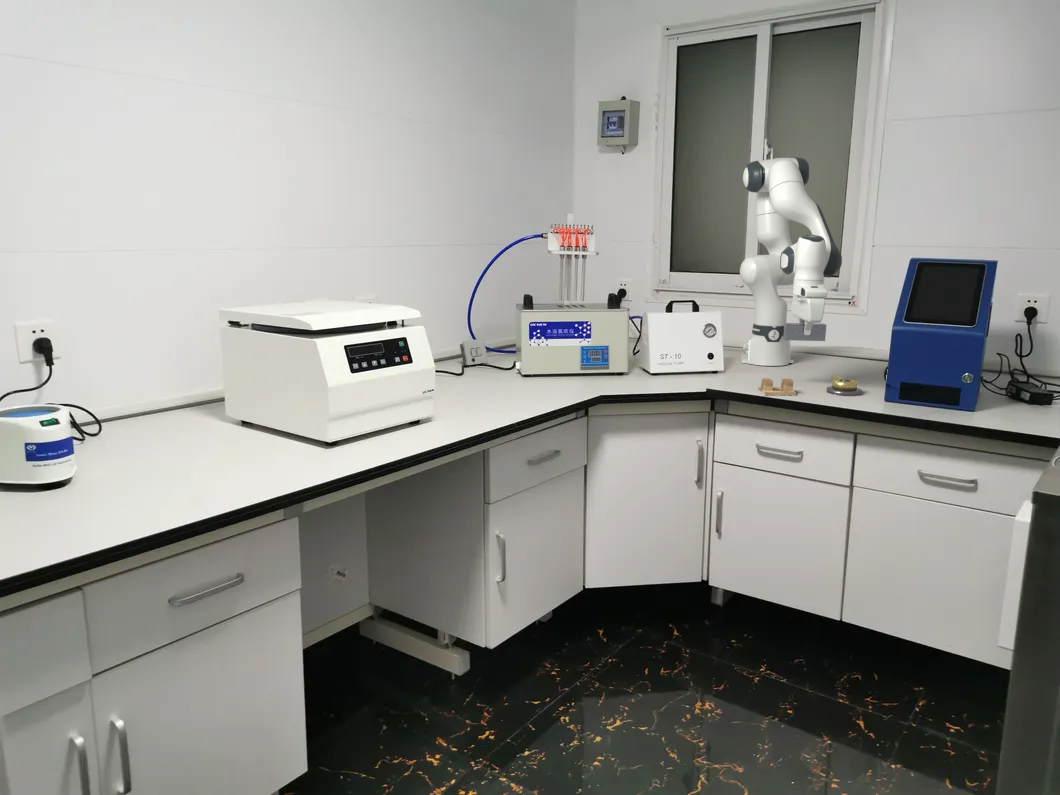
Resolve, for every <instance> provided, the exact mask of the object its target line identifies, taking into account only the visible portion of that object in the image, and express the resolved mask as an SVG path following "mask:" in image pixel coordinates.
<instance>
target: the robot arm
mask: <svg viewBox="0 0 1060 795" xmlns="http://www.w3.org/2000/svg"><path fill="white" fill-rule="evenodd" d="M810 172H811V170H810V164H809V162H808V161H807V160H806V159H805V158H803V157H798V156H796V157H794V158H793V157H776V158H771V159H770V158H768V159H764V160H754V161H751V162H748V163H747V164H746V165H745V167H744V171H743V174H742V182H743V184H744V188H745V189H746V191H748V192H750V193H756V198H755V207H754V208H755V209H754V210H755V211H754V212H755V213H754V214H755V238H756V239H757V241H758V242H759V243H760V244H761V245H763V246H764V247H765V248H766V251H767V253H768V254H757V255H753V256H749V257H746V258H745V259H744V260H743V261H742V263H741V264H740V267H739V275H740V276H739V277H740V278H741V281H742V282H743V283H744V284H745V285H746V286H747V287H748V288H749V289H750V292H751V294H752V296H753V300H754V301H753V302H754V323H753V324H752V328H751V333H752V334H751V336H750V338H749V339H748V341H747V342H746V343H743V344H742V350H743V351H745V353H741V354H740V362H741V363H742V364H747V365H749V364H750V365H754V366H755V365H756V366H763V367H764V366H768V367H781V366H787V365H789V363H792V364H794V363H795V361H794V359H791V340H784V339H783V335H784V323H787V318H788V317H787V315H788V303H787V301H786V300H785V299H784V298H782V297H780V295H779V294H778V289H777V286H779V287H780V286H791V285H793V287H792V300H791V301H792V302H791V309H790V313H791V316H793V317H796V318H797V323H805V328H804V330H803V334H804V335H810V333H811V328H812V325H813V323H815V324H821V322H822V321H823V318H824V312H825V303H826V301H825V300H826V299H825V298H827V297H828V290H827V288H826V286H825V284H824V283H825V278H831V277H833V276H834V275H835V274H837V272H839V270H840V269H841V267H842V263H843V258H842V252H841V251H840V249H839V248H838V246H837V244H836V242H835V241H834V238H833V235H832V233H831V231H830V228H829V226H828V222H827V220H826V217H825V215H824V213H823V211H822V209H821V207H820V205H819V204H818V203H816V202H815V201H814V200H812V199H811V197H810V196H809V194H808V193H807V191H806V188H805V187H806V185H807V184H808V181H809V178H810ZM789 220H790V221H793V222H796V223H798V224H801V225H803V226H805V227H807V228H808V229H809V231H810V232H811V234H803V235H800V237H798V240H797V242H796V243H794V244H793V242H792V240H791V239H792V238H791V236H790V229H789V228H790V226H789Z"/></svg>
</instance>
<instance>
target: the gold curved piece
mask: <svg viewBox="0 0 1060 795" xmlns="http://www.w3.org/2000/svg"><path fill="white" fill-rule="evenodd" d="M831 382H832V385H831V386H832V388H833V389H836V390H841V391H855V390H857V388H858V380H856V379H852V378H843V377H841V376H840V375H838V374H832V375H831Z"/></svg>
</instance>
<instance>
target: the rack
mask: <svg viewBox="0 0 1060 795" xmlns="http://www.w3.org/2000/svg"><path fill="white" fill-rule="evenodd" d="M760 384H761V385H760V386H758V387H757V390H758V389H759V390H760V391H761V392H763V393H764V394H765V395H764V394H763V393H762V394H763V395H764V396H784V395H795V396H796V394H797V393H796V391H795V390H794V380H792V378H785V377H784V378H783V377H782V378H781V382H780V386H774V380H773V379H771V378H770V377H767V378H766V377H763V378H762V377H761V383H760ZM759 390H758V391H759ZM760 391H759V392H760ZM761 392H760V393H761Z"/></svg>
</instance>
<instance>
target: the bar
mask: <svg viewBox="0 0 1060 795" xmlns="http://www.w3.org/2000/svg"><path fill="white" fill-rule="evenodd" d="M804 328H805V323H798V322H786V323H784V335H783V339H784V340H790V341H795V342H796V341H798V342H799V341H802V342H803V341H805V342H806V341H809V342H814V341H815V342H826V334H827V324H825V323H813V325H812V328H811V333H810V335H804V334H803V330H804Z"/></svg>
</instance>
